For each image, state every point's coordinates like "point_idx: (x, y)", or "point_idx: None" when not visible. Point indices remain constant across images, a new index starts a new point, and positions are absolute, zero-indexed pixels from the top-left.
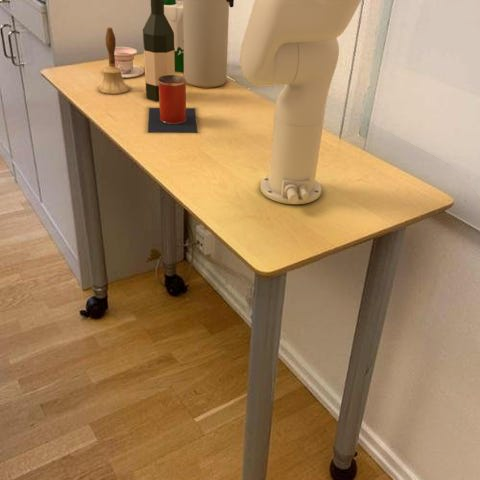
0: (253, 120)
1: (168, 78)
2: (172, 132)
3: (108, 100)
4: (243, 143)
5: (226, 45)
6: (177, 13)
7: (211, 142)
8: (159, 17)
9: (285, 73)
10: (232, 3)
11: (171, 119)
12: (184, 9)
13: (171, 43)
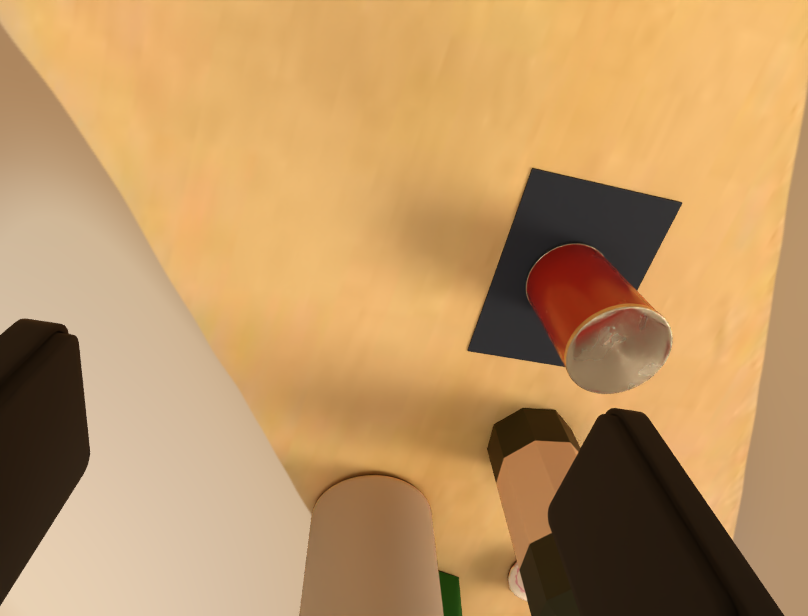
0: (307, 233)
1: (626, 363)
2: (609, 186)
3: (672, 430)
4: (406, 32)
5: (310, 595)
6: None
7: (518, 71)
8: None
9: None
10: (637, 430)
11: (593, 251)
12: None
13: (550, 560)
